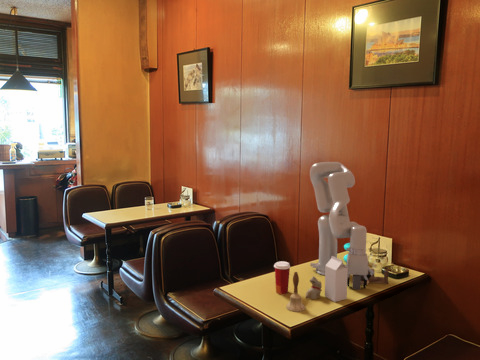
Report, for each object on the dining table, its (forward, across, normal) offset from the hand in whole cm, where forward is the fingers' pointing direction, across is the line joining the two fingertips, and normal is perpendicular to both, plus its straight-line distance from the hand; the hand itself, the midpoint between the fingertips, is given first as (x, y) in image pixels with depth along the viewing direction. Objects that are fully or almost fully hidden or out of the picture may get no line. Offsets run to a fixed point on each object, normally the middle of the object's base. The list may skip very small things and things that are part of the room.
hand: (356, 285), depth 189 cm
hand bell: (+1, -27, -28) cm, 39 cm away
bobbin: (+1, +3, +8) cm, 9 cm away
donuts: (+1, 0, +40) cm, 40 cm away
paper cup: (+1, -35, -13) cm, 37 cm away
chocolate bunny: (+1, -20, -15) cm, 25 cm away
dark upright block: (+1, 0, 0) cm, 1 cm away
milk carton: (+1, -10, -14) cm, 17 cm away
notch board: (+1, +9, +11) cm, 14 cm away
